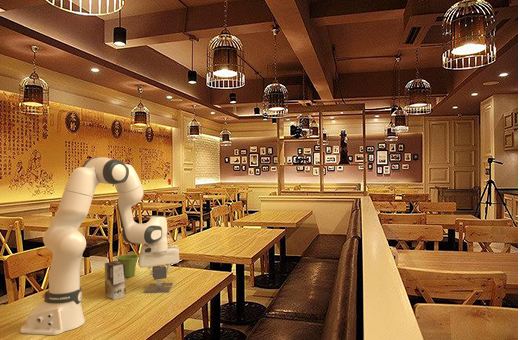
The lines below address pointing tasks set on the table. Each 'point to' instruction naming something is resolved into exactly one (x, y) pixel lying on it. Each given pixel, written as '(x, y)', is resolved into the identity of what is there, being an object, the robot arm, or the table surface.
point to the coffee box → (115, 280)
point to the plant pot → (128, 263)
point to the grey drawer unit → (159, 272)
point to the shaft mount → (158, 287)
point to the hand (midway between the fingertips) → (159, 273)
